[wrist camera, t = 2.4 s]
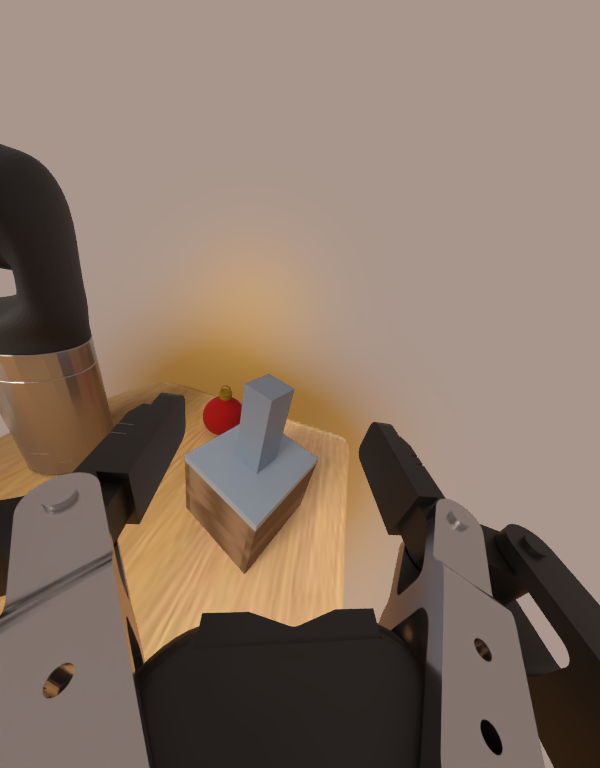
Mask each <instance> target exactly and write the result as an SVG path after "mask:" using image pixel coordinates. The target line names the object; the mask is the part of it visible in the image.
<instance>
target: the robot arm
mask: <svg viewBox="0 0 600 768" xmlns="http://www.w3.org/2000/svg"><path fill="white" fill-rule="evenodd" d="M0 268H3V269H9V270H12V271H13V274H14V278H15V284H16V289H17V294H16V295H13V296H8V297H0V414H1V416H2V418H3V420H4V422H5V423H6V425H7V427H8V429H9V431H10V433H11V434H12V436H13V438H14V440H15V442H16V444H17V446H18V448H19V449H20V451H21V453H22V455H23V457H24V458H25V460H26V462H27V464H28V466H29V468H31V469H32V470H33V471H34V472H37V473H40V474H46V475H60V474H65V475H61V476H58V477H55V478H52V479H50V480H48V481H46V482H44V483H42V484H40V485H39V486H37V487H36V488H34V489H33V490H31V491H30V492H29V493H28V494H26V495H25V496H22V497H17V498H11V499H6V500H0V597H1V596H4V595H6V601H5V607H4V610H3V612H2V614H1V615H0V768H545V766H544V761H543V757H542V751H541V747H540V742H539V739H540V741H541V742H542V745H543V747H544V749H545V750H546V753H547V755H548V757H549V758H550V760H551V763H552V764H553V766H554V768H600V605H599V604H598V603H597V602H596V601H595V600H594V598H593V597H592V596H591V595H590V594H589V592H588V591H587V590H586V589H585V588H584V587H583V586H582V585H581V583H580V582H579V581H578V580H577V579H576V577H575V576H574V575H573V574H572V573H571V572H570V571H569V570H568V569H567V567H566V566H565V565H564V564H563V563H562V561H561V560H560V559H559V558H558V557H557V556H556V555H555V553H554V552H553V551H552V550H551V549H550V548H549V547H548V546H547V545H546V544H545V543H544V542H543V541H542V540H541V539H540V538H539V537H537V536H536V535H535V534H533V533H532V532H530V531H529V530H527V529H525V528H523V527H521V526H519V525H515V524H509V525H507V526H506V527H505V528H504V529H503V530H501V531H500V532H499V531H497V530H494V529H491V528H489V527H486V526H483V525H481V524H479V523H478V521H477V520H476V519H475V517H474V516H473V515H472V514H471V513H470V512H469V511H468V510H467V509H465V508H464V507H463V506H461V505H459V504H458V503H456V502H454V501H452V500H449V499H446V498H445V497H444V496H443V494H442V492H441V491H440V490H439V488H438V487H437V485H436V484H435V482H434V481H433V479H432V478H431V476H430V475H429V473H428V472H427V470H426V469H425V467H424V466H422V463H421V461H420V460H419V458H417V455H416V454H415V452H414V451H413V449H412V448H411V446H410V445H409V444H408V443H407V442H406V441H404V440H403V439H402V438H401V437H399V435H398V434H397V432H396V431H395V429H394V428H393V426H392V425H390V424H385V423H378V422H373V423H372V424H371V425H370V427H369V429H368V431H367V433H366V435H365V437H364V439H363V441H362V443H361V445H360V448H359V459H360V462H361V464H362V467H363V470H364V472H365V475H366V477H367V480H368V483H369V485H370V488H371V490H372V493H373V496H374V498H375V501H376V503H377V506H378V509H379V511H380V514H381V516H382V519H383V522H384V524H385V527H386V529H387V532H388V534H389V535H401V536H402V539H403V542H402V543H401V545H400V548H399V553H398V558H397V563H396V568H395V573H394V578H393V584H392V588H391V593H390V598H389V600H388V603H387V605H386V607H385V609H384V611H383V613H382V615H381V618H380V621H379V624H378V623H377V622H376V618H375V614H374V610H373V609H338V610H333V611H331V612H329V613H327V614H324V615H322V616H320V617H318V618H315V619H313V620H311V621H309V622H306V623H304V624H302V625H299V626H296V627H291V626H288V625H285V624H282V623H279V622H276V621H273V620H270V619H267V618H265V617H262V616H259V615H256V614H253V613H250V612H233V613H202V617H201V622H200V626H199V627H196V628H194V629H191V630H189V631H187V632H185V633H183V634H181V635H180V636H178V637H176V638H175V639H173V640H172V641H170V642H169V643H167V644H166V645H165V646H163V647H162V648H161V649H160V650H158V651H157V652H156V653H155V654H154V655H153V656H152V657H150V658H149V659H148V660H147V661H146V662H145V660H144V655H143V651H142V646H141V641H140V637H139V632H138V628H137V624H136V620H135V616H134V612H133V608H132V604H131V599H130V595H129V590H128V585H127V580H126V576H125V571H124V566H123V561H122V557H121V552H120V547H119V542H118V537H119V535H120V533H121V532H122V530H123V528H124V526H125V525H126V524H140V522H141V520H142V518H143V516H144V514H145V512H146V510H147V508H148V506H149V504H150V502H151V500H152V498H153V496H154V495H155V493H156V491H157V489H158V487H159V485H160V483H161V481H162V479H163V477H164V475H165V473H166V471H167V469H168V467H169V465H170V463H171V461H172V459H173V457H174V455H175V453H176V451H177V450H178V448H179V446H180V444H181V442H182V439H183V437H184V433H185V398H184V396H183V395H176V394H168V393H161V394H159V396H158V397H157V398H156V399H155V400H154V402H153V403H152V404H151V405H149V404H142V405H140V406H138V407H137V408H135V409H133V410H131V411H129V412H128V413H127V414H126V415H125V416H124V417H123V419H122V420H121V421H120V422H119V424H117V425H116V426H115V427H114V428H113V423H112V419H111V414H110V410H109V406H108V402H107V397H106V393H105V390H104V385H103V380H102V376H101V372H100V368H99V363H98V359H97V356H96V351H95V347H94V343H93V339H92V335H91V330H90V326H89V317H88V306H87V299H86V294H85V289H84V285H83V279H82V273H81V267H80V261H79V254H78V248H77V241H76V235H75V230H74V225H73V221H72V217H71V213H70V210H69V206H68V204H67V201H66V199H65V196H64V194H63V192H62V190H61V188H60V186H59V185H58V183H57V181H56V180H55V178H54V177H53V175H52V174H51V173H50V172H49V170H48V169H47V168H46V167H45V166H44V165H42V164H41V163H40V162H39V161H38V160H36V159H35V158H33V157H32V156H30V155H28V154H26V153H24V152H21V151H19V150H16V149H13V148H10V147H7V146H4V145H1V144H0ZM71 472H72V473H71ZM67 473H70V474H67ZM528 592H529V593H530V595H531V596H532V598H533V599H534V601H535V602H536V603H537V605H538V606H539V608H540V609H541V611H542V612H543V614H544V615H545V617H546V618H547V619H548V621H549V622H550V624H551V625H552V627H553V628H554V630H555V631H556V632H557V634H558V635H559V637H560V638H561V640H562V641H563V643H564V644H565V646H566V648H567V651H568V654H569V657H570V662H569V665H568V666H567V667H566V668H562V669H561V668H560V667H559V666H558V664H557V663H556V662H555V660H554V659H553V657H552V656H551V654H550V652H549V651H548V649H547V648H546V646H545V645H544V643H543V642H542V640H541V638H540V637H539V635H538V634H537V632H536V631H535V629H534V627H533V626H532V624H531V623H530V621H529V620H528V618H527V616H526V615H525V613H524V612H523V611H522V609H521V607H520V606H519V604H518V602H517V601H516V599H518V598H519V597H521V596H523V595H524V594H526V593H528Z"/></svg>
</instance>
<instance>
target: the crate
mask: <svg viewBox="0 0 600 768" xmlns="http://www.w3.org/2000/svg"><path fill="white" fill-rule="evenodd" d="M314 468H315V466H314V467H313V468H312V469H311V470H310V471H309V472H308V473H307V475H306V476H305V477H304V478H303V479H302V480H301V481H300V482H299V484H298V485H297V486H296V487H295V488H294V489H293V490H292V491H291V492H290V494H289V495H288V496H287V497H286V498H285V499H284V500H283V501H282V503H281V504H280V505H279V506H278V507H277V508H276V509H275V510H274V511H273V513H272V514H271V515H270V516H269V517H268V518H267V519H266V520H265V522H264V523H263V524H262V525H261V526H260V527H259V528H258V529H257V530H256V532H255V531H254V530H253V529H252V528H251V527H250V526H249V525H248V524H247V523H246V522H245V521H244V520H243V519H242V518H241V517H240V516H239V515H238V514H237V513H236V512H235V511H234V510H233V509H232V508H231V507H230V506H229V505H228V504H227V503H226V502H225V501H224V500H223V499H222V498H221V497H220V496H219V495H218V494H217V493H216V492H215V491H214V490H213V489H212V488H211V487H210V486H209V485H208V484H207V483H206V482H205V481H204V480H203V479H202V478H201V477H200V476H199V475H198V474H197V473H196V472H195V471H194V470H193V469H192V468H191V467H190V466H189V465H188V464H187V463H186V462H185V476H186V507H187V508H188V510H189V511H190V512H191V513H192V514H193V515H194V516H195V518H196V519H197V520H198V521H199V522H200V523H201V524H202V526H203V527H204V528H205V529H206V530H207V531H208V533H209V534H210V535H211V536H212V537H213V538H214V539H215V541H216V542H217V543H218V544H219V545H220V546H221V547H222V549H223V550H224V551H225V552H226V553H227V554H228V555H229V557H230V558H231V559H232V560H233V561H234V562H235V564H236V565H237V566H238V567H239V568H240V569H241V570H242V572H243V573H244V574H245V573H246V571H247V570H248V569H249V568H250V566H251V565H252V564H253V563H254V561H255V560H256V559H257V558H258V556H259V555H260V554H261V553H262V551H263V550H264V549H265V548H266V546H267V545H268V544H269V543H270V541H271V540H272V539H273V538H274V536H275V535H276V534H277V533H278V531H279V530H280V529H281V528H282V526H283V525H284V524H285V523H286V521H287V520H288V519H289V518H290V516H291V515H292V514H293V513H294V511H295V510H296V509H297V508H298V506H299V505H300V503H301V501H302V498H303V496H304V493H305V491H306V488H307V486H308V483H309V481H310V478H311V476H312V473H313V470H314Z"/></svg>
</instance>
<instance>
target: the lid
mask: <svg viewBox="0 0 600 768" xmlns="http://www.w3.org/2000/svg"><path fill="white" fill-rule="evenodd" d="M293 393H294V388H292V387H290V386H289V385H287V384H285V383H284V382H282V381H280V380H278V379H277V378H275V377H273V376H272V375H270V374H268V375H266V376H263V377H260V378H258V379H255V380H253V381H250V382H248V383H245V387H244V395H243V403H242V410H241V418H240V424H239V425H237V426H235V427H234V428H232V429H230V430H228V431H227V432H225V433H223V434H221V435H219V436H218V437H216V438H214V439H212V440H211V441H209V442H207V443H205V444H203V445H202V446H200V447H198V448H196V449H194V450H193V451H191V452H189V453H187V454H186V455H185V462H186V463H187V464H188V465H189V466H190V467H191V468H192V469H193V470H194V471H195V472H196V473H197V474H198V475H199V476H200V477H201V478H202V479H203V480H204V481H205V482H206V483H207V484H208V485H209V486H210V487H211V488H212V489H213V490H214V491H215V492H216V493H217V494H218V495H219V496H220V497H221V498H222V499H223V500H224V501H225V502H226V503H227V504H228V505H229V506H230V507H231V508H232V509H233V510H234V511H235V512H236V513H237V514H238V515H239V516H240V517H241V518H242V519H243V520H244V521H245V522H246V523H247V524H248V525H249V526H250V527H251V528H252V529H253V530H254V531H255V532H256V530H257V529H258V528H259V527H260V526H261V525H262V524H263V523H264V522H265V520H266V519H267V518H268V517H269V516H270V515H271V514H272V513H273V511H274V510H275V509H276V508H277V507H278V506H279V505H280V504H281V503H282V501H283V500H284V499H285V498H286V497H287V496H288V495H289V494H290V492H291V491H292V490H293V489H294V488H295V487H296V486H297V485H298V484H299V482H300V481H301V480H302V479H303V478H304V477H305V476H306V475H307V473H308V472H309V471H310V470H311V469H312V468H313V467H314V466H315V465H316V463H317V460H318V458H317V457H315V456H314V455H312V454H311V453H310V452H308V451H307V450H305V449H304V448H303V447H301V446H300V445H298V444H297V443H296V442H294V441H293V440H291V439H290V438H289V437H287V436H286V435H284V434H283V431H284V427H285V423H286V419H287V416H288V412H289V408H290V404H291V400H292V396H293Z"/></svg>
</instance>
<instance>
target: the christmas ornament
mask: <svg viewBox="0 0 600 768" xmlns="http://www.w3.org/2000/svg"><path fill="white" fill-rule="evenodd" d="M226 387H228V388H229V386H226ZM229 389H230V388H229ZM229 389H221V391H220V396H219V397H216V398H214V399H212V400H211V401H210V402H209V403H208V404H207V405H206V407H205V409H204V412H203V421H204V424H205V426H206V427H207V429H208V430H209V431H211V432H212V433H214V434H217V435H221V434H223V433H225V432H227V431H228V430H230V429H232V428H234V427H235V426H237V425H239V424H240V418H241V410H242V405H241V404H240V403H239V401H237V400H236V399H234V398H232V391H231V389H230V390H229Z"/></svg>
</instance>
